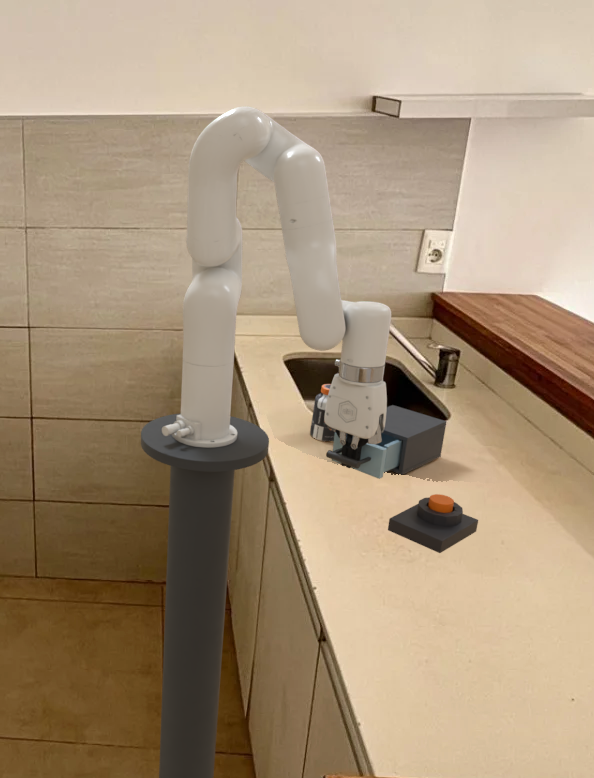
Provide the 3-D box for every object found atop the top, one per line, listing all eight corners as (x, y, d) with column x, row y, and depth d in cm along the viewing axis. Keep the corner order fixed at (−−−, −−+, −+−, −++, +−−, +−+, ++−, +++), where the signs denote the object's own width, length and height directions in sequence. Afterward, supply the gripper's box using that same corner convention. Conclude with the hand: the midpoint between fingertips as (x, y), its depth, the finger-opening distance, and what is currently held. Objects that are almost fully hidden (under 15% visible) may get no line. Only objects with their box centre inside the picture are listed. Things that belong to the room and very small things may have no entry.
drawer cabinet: (402, 475, 144) (407, 437, 142) (348, 455, 153) (353, 419, 150) (440, 456, 152) (446, 421, 149) (388, 438, 161) (392, 404, 158)
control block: (439, 553, 118) (444, 530, 117) (387, 530, 125) (390, 508, 124) (476, 531, 124) (480, 509, 123) (424, 510, 131) (427, 489, 130)
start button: (444, 516, 122) (446, 506, 121) (423, 507, 125) (425, 498, 124) (456, 509, 124) (458, 500, 123) (435, 501, 127) (437, 492, 126)
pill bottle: (322, 444, 158) (329, 393, 154) (303, 433, 163) (310, 383, 159) (345, 440, 160) (353, 389, 156) (326, 429, 165) (333, 380, 161)
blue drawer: (363, 486, 138) (367, 456, 136) (315, 466, 146) (318, 438, 144) (416, 461, 148) (421, 433, 146) (369, 444, 155) (372, 418, 153)
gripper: (313, 365, 140) (304, 457, 146) (387, 386, 129) (373, 484, 135) (338, 358, 144) (328, 447, 151) (411, 377, 133) (397, 473, 139)
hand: (349, 464), depth 143 cm, fingers closed
